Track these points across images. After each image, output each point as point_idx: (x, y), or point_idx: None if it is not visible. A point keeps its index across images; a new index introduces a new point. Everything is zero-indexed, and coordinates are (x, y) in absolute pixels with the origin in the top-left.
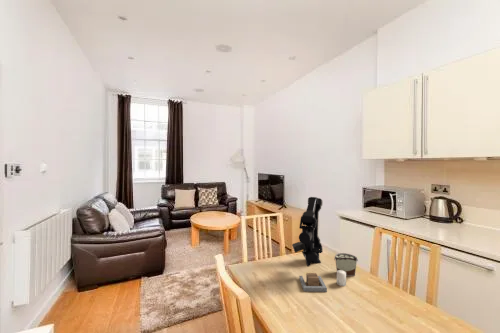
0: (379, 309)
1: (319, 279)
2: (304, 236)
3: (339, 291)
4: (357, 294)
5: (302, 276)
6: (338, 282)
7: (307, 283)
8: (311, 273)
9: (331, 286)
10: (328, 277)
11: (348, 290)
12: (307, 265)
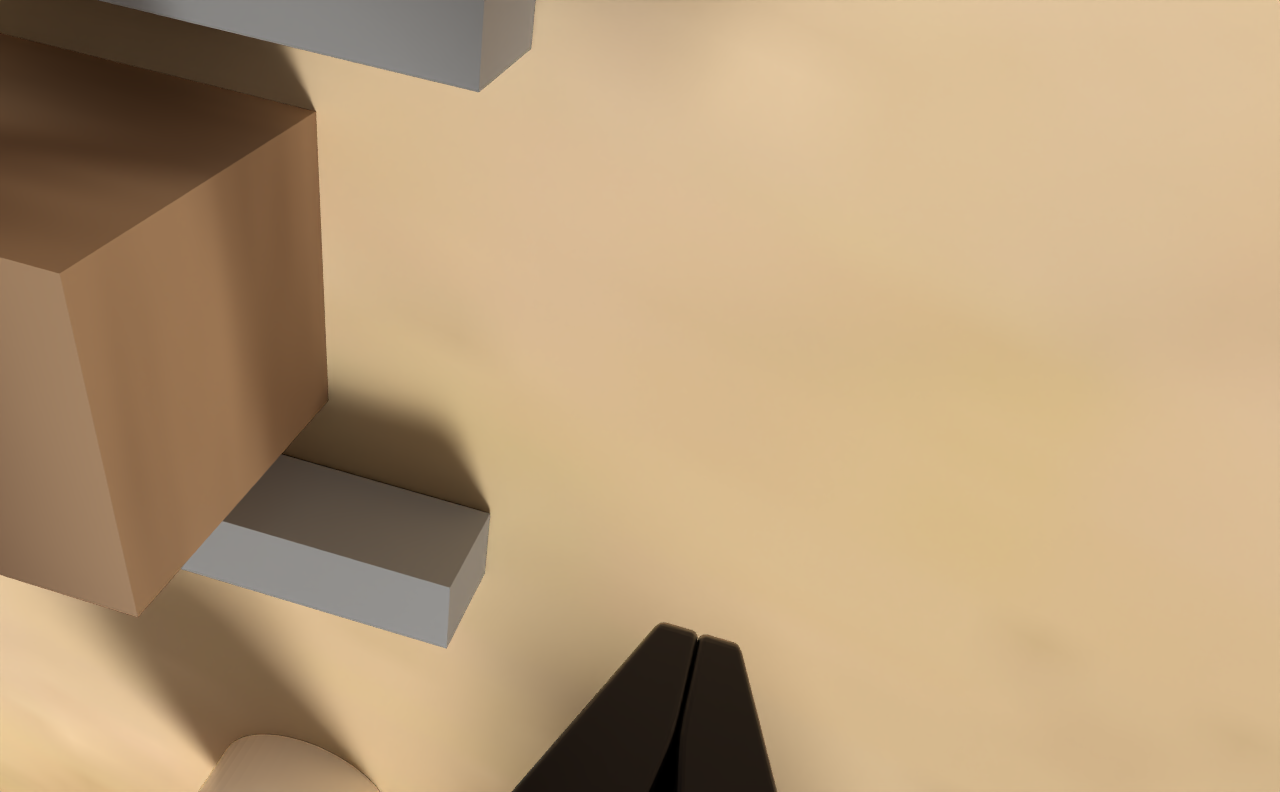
0: None
1: (241, 530)
2: None
3: (17, 622)
4: (5, 776)
5: (420, 74)
6: (221, 783)
7: (99, 83)
8: (55, 452)
9: (177, 604)
10: None
11: (93, 751)
12: (625, 664)
